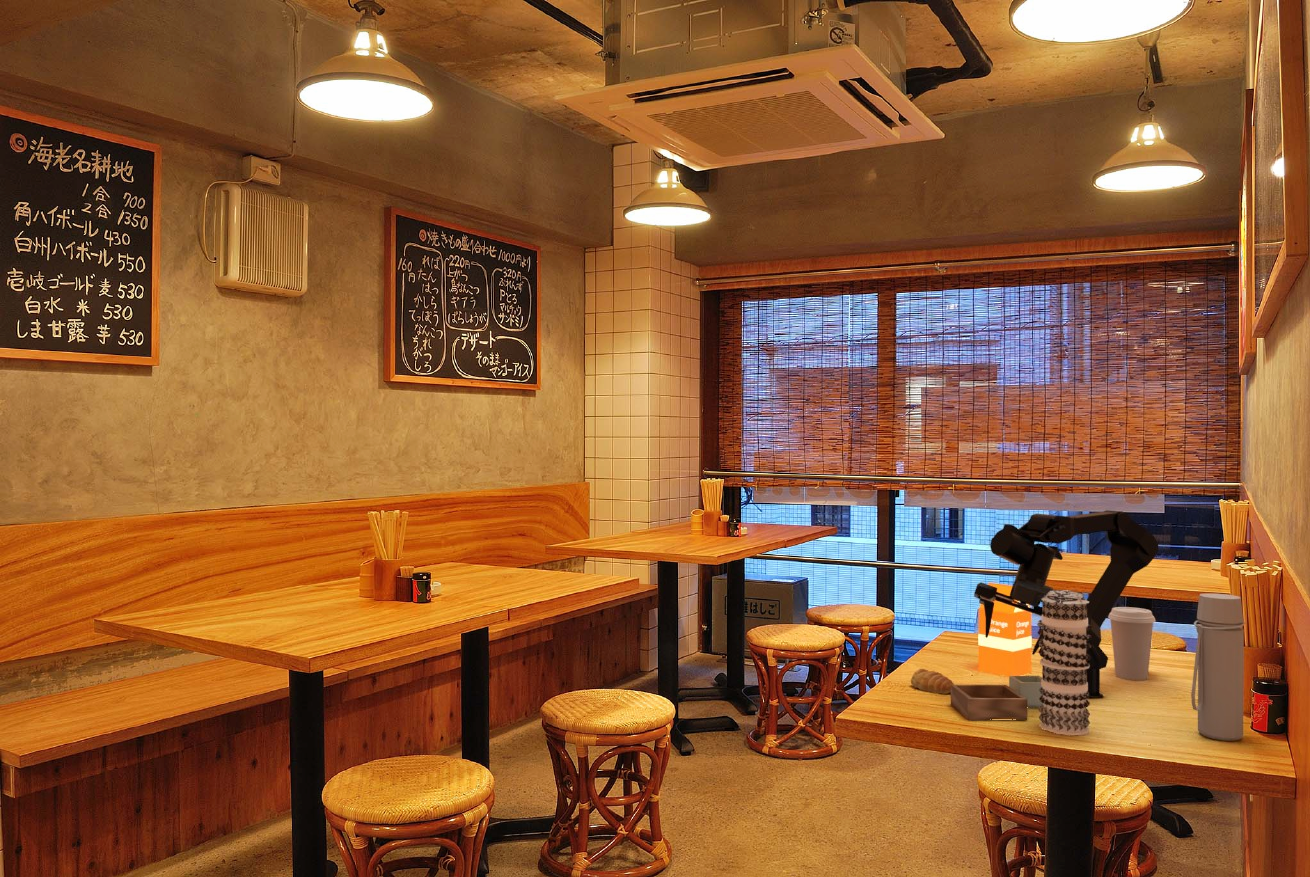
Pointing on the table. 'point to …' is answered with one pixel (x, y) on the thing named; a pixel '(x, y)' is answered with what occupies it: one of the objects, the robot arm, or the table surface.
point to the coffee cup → (1131, 641)
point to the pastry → (931, 681)
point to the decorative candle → (1064, 663)
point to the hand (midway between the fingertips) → (1009, 645)
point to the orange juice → (1005, 638)
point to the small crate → (1027, 688)
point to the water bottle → (1219, 667)
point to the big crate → (988, 702)
